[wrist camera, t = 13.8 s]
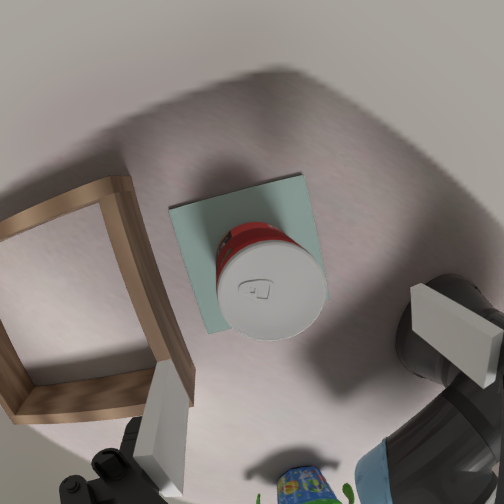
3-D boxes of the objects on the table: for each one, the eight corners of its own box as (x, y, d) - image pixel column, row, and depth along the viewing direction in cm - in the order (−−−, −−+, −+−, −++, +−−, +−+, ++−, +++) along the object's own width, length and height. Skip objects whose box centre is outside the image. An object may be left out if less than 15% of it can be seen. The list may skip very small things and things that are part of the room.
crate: (130, 176, 30) (109, 175, 23) (195, 369, 36) (193, 406, 29) (-34, 245, 29) (-66, 258, 22) (33, 395, 34) (13, 424, 28)
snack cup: (246, 494, 43) (254, 539, 33) (259, 459, 41) (269, 510, 31) (329, 489, 45) (345, 529, 35) (350, 455, 43) (372, 498, 33)
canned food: (210, 225, 32) (209, 249, 21) (289, 216, 32) (325, 234, 22) (220, 297, 34) (224, 350, 23) (294, 287, 34) (328, 333, 24)
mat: (302, 174, 32) (304, 174, 32) (327, 297, 36) (329, 299, 35) (169, 209, 31) (168, 210, 31) (208, 331, 35) (208, 334, 34)
